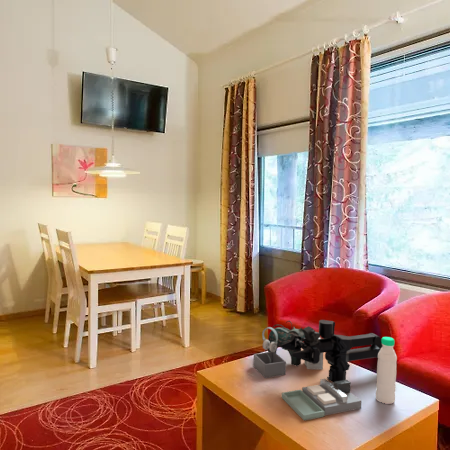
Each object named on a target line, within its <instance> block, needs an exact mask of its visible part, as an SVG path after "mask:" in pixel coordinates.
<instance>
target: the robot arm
mask: <svg viewBox="0 0 450 450" xmlns="http://www.w3.org/2000/svg"><path fill="white" fill-rule="evenodd" d="M335 326H336V321H333V320H326V319H320V320H318V331H316V330H315V329H314V328H312V327H311V326H309V325H308V326H305V328H302V331H303V333H304V336H305V338H303V342H302V341H301V337H300V336H299V335H297V334H292V335H291V339H290V340H289V341H288V342H286V343H284V344H282V345H281V347H280V348H281V349H282V348H284V349H289V350H293V351H295V350H300V349H301V351H298V352H294V353H292V356H293V357H296V358H299V359H301V361H308V362H310V363H313V364H317V363H318V362H319V361H320V353H323V354H324V353H325V354H324V358H325V360H326V362H327V364H329V370H328V376H327V378H326V379H328V381H329V382H330V383H332V382H336V381H341V380H347V379H346V378H347V371H349V369H350V367H351V366H350V364H349V362H352V361H359V360H360V361H361V360H366V359H374V358H377V359H378V353H379V351H380V349H381V348H382V346H383V345H382V342H381V340H382V338H381V337H380V336H379V335H377V334H375V333H373V332H369V333H366V334H360V335H359V334H358V335H350V336H348V335H347V336H346V335H342V334H335ZM319 338H321V339H319ZM370 345H371V346H370ZM363 346H364V347H363ZM365 346H366V347H365ZM355 347H357V348H355ZM358 347H359V348H358ZM352 348H353V349H352ZM284 349H283V350H284Z"/></svg>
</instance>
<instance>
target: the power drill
mask: <svg viewBox="0 0 450 450" xmlns="http://www.w3.org/2000/svg"><path fill="white" fill-rule="evenodd" d="M288 322H289V323H290V325H293V322H292V321H291V320H286V322H285V324H286V323H288ZM275 326H276V327H275ZM279 326H280V327H279ZM279 326H278V327H277V324H274V325H272V327H271V328H273V329H275V331H276V332H277V334H278V341H277V349H276V351H275V353H276V354H277V351H278V347H280V348H281V345H282V344H284V343H286V342H288V341H289V340H290V339H291V335H292V334H297V335H299V336H300V337H301V341H302V342H304V341H303V338H305V336H304V333H303V331H302V329H303V328H302V327H300V328H295V326H291V329H289V328H288V327H287V328H286V327H284V325H282V324H279ZM267 340H269V341H270V344H271V342H276V336H275V334H274V332H273V331H272V330H270V332H269V334H268V339H267ZM281 349H283V350H285V351H287V352H288V354H289V357H290V365H291V366H295V367H298V366H300V365H302V359H299V358H296V357H293V356H292V353H294V352H298V351H302V348H301V349H300V350H295V351H293V350H289V349H284V348H281ZM267 352H271V351H270V349H268V350H267Z"/></svg>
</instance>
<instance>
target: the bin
mask: <svg viewBox="0 0 450 450" xmlns="http://www.w3.org/2000/svg"><path fill="white" fill-rule="evenodd" d="M281 398H282V400H283V401H284V402H285V403H286V404H287V405H288V406H289V407H290V408H291V409H292V410H293V411H294V412H295V413H296V414H297V415H298V416H299V417H300V418H301V419H302V420H303V421H310V420H314V419H320V418H324V417H325V416H326V415H325V411H324V410H323V409H322V408H321V407H319V406H318V405H317V404H316V403H315V402H314V401H313V400H312V399H311V398H309V397H308V396H307V395H306V394H305V393H304V392H303V391H302V389H295V390H290V391H284V392H281Z"/></svg>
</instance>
